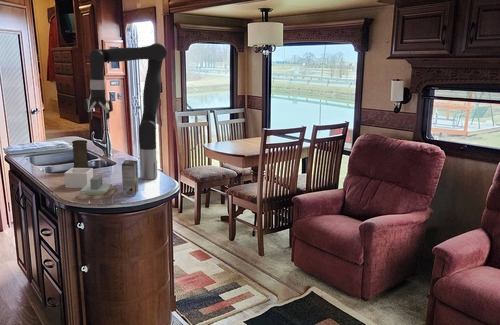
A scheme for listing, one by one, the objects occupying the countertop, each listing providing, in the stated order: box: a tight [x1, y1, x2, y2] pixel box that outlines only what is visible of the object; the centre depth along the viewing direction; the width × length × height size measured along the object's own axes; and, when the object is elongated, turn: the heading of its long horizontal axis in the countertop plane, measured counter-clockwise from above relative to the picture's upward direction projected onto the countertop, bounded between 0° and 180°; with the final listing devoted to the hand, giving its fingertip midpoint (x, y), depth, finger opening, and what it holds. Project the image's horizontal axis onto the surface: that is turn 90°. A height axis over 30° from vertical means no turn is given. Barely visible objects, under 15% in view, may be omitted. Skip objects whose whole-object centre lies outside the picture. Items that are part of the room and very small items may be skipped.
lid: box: [79, 174, 113, 195], centre depth 208 cm, size 12×12×8 cm
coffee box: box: [121, 159, 139, 197], centre depth 210 cm, size 9×6×16 cm
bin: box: [64, 167, 94, 189], centre depth 221 cm, size 11×11×8 cm
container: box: [71, 139, 90, 168], centre depth 250 cm, size 9×9×18 cm
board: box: [74, 187, 118, 200], centre depth 208 cm, size 16×16×1 cm
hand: (99, 119), depth 224 cm, fingers open, 8 cm apart
